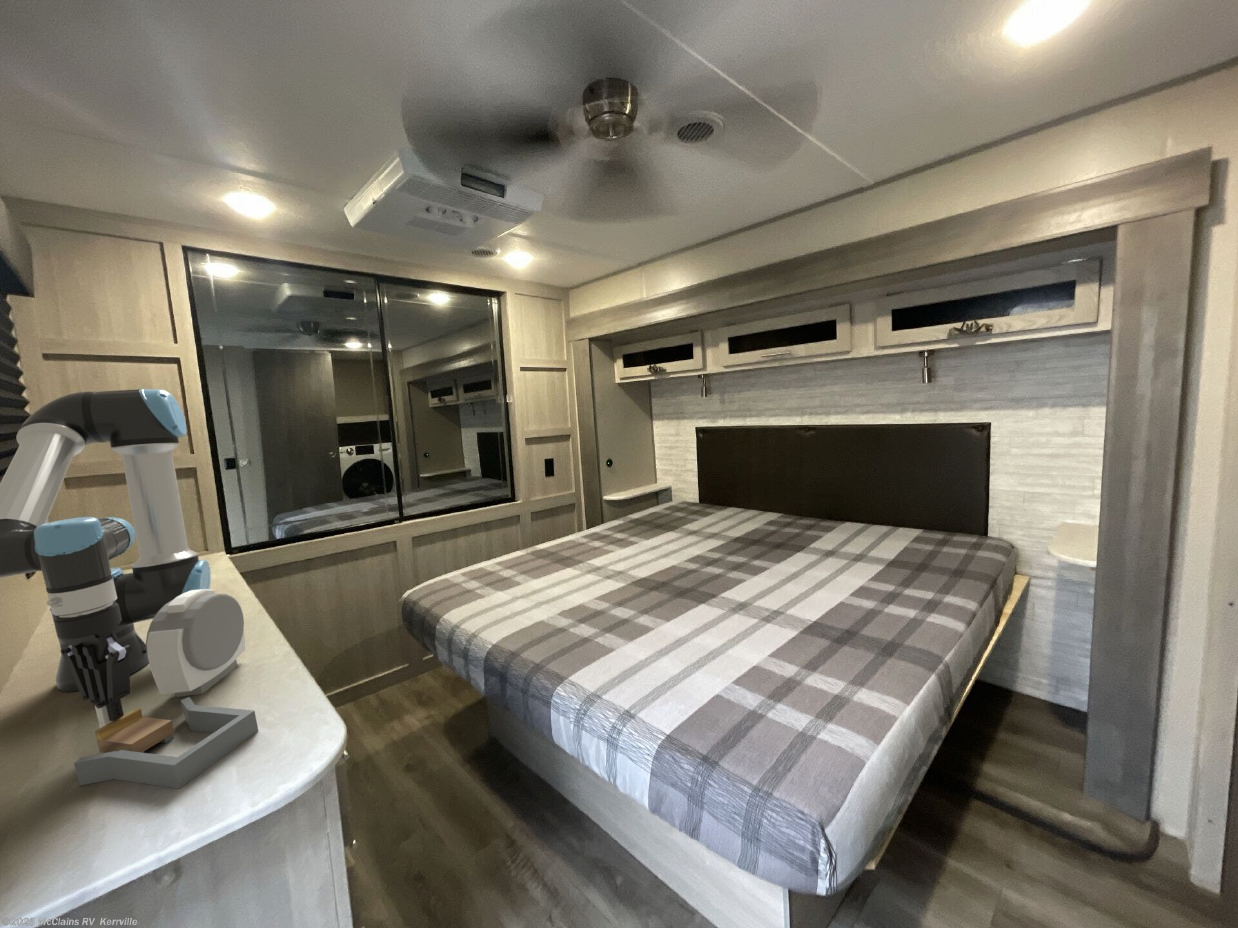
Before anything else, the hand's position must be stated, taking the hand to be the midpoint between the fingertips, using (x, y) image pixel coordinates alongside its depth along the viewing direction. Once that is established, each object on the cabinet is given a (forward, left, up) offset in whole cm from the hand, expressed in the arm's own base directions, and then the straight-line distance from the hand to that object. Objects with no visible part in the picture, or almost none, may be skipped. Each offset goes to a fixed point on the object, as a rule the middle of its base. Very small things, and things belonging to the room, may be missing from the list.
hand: (115, 734), depth 85 cm
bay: (+14, 0, -2) cm, 14 cm away
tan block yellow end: (+5, 0, -2) cm, 5 cm away
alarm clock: (-5, +19, -2) cm, 20 cm away
